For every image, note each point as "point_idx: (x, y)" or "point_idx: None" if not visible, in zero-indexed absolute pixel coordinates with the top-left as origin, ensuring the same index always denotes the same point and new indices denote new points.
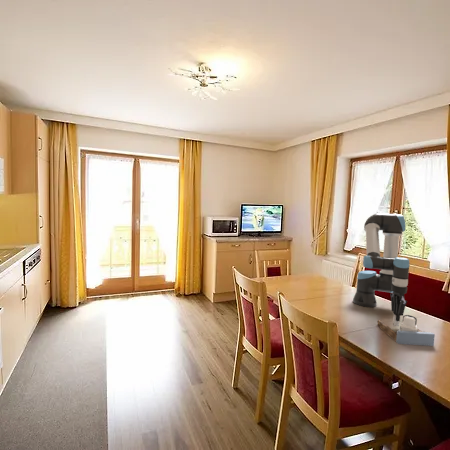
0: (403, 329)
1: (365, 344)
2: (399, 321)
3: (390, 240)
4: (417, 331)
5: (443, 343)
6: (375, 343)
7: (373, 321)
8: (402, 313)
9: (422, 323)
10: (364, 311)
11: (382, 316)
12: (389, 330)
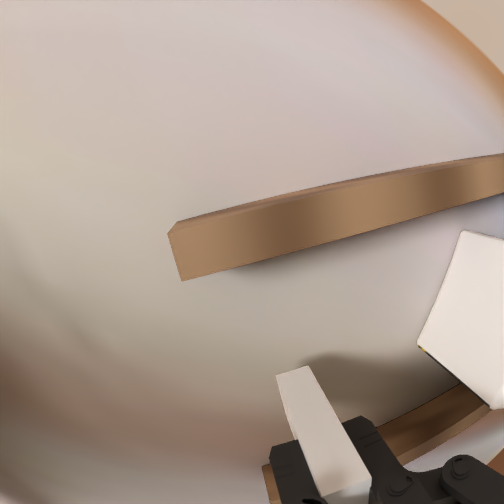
0: None
1: (488, 454)
2: (330, 405)
3: None
4: (452, 204)
5: (464, 43)
6: (490, 435)
7: (189, 489)
8: (491, 480)
9: (9, 37)
10: (14, 472)
11: (8, 401)
12: (456, 432)
